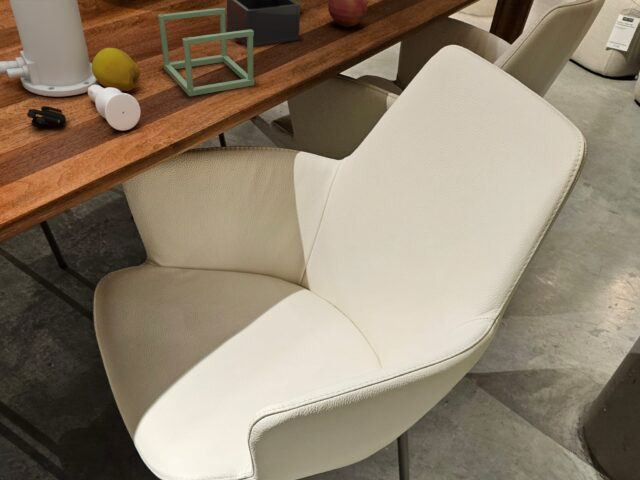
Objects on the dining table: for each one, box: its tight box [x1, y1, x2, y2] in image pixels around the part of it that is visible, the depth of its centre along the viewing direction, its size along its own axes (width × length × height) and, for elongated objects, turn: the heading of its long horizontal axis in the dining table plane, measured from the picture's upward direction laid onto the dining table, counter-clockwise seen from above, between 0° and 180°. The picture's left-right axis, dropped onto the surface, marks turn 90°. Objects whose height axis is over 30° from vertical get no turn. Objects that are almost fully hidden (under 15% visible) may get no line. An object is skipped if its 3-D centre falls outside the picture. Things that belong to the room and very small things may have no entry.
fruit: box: [327, 0, 369, 28], centre depth 122 cm, size 8×8×10 cm
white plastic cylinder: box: [87, 84, 142, 131], centre depth 89 cm, size 5×5×12 cm
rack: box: [157, 7, 255, 97], centre depth 99 cm, size 12×12×9 cm
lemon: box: [91, 47, 141, 92], centre depth 95 cm, size 6×6×8 cm
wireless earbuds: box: [26, 105, 67, 129], centre depth 86 cm, size 7×2×5 cm
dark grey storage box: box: [226, 0, 301, 48], centre depth 116 cm, size 11×9×7 cm
